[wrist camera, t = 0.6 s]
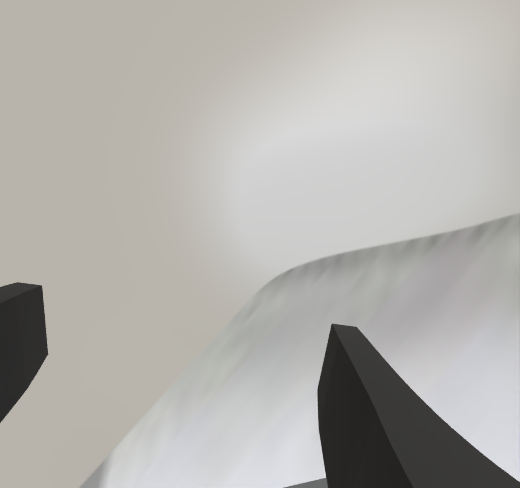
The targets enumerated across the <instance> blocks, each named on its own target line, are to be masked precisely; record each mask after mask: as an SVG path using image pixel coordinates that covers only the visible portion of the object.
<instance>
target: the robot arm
mask: <svg viewBox="0 0 520 488" xmlns="http://www.w3.org/2000/svg"><path fill="white" fill-rule="evenodd" d="M47 355H48V348H47V337H46V326H45V314H44V303H43V291H42V286H41V285H34V284H26V283H18V282H17V283H13V284H9V285H6V286H3V287H0V422H1V421H2V420H3V419H4V418H5V416H6V415H7V414H8V413H9V411H10V410H11V409H12V407H13V406H14V405H15V404H16V403H17V401H18V400H19V399H20V397H21V396H22V395H23V394H24V392H25V391H26V390H27V388H28V387H29V385H30V383H31V382H32V380H33V378H34V377H35V375H36V374H37V372H38V370H39V369H40V367H41V365H42V364H43V362H44V360H45V358H46V357H47ZM318 421H319V433H320V440H321V446H322V453H323V459H324V466H325V472H326V478H327V485H328V488H520V482H519V481H517V480H516V479H515V478H513V477H512V476H511V475H509V474H508V473H506V472H505V471H504V470H502V469H501V468H500V467H498V466H497V465H496V464H495V463H493V462H492V461H491V460H489V459H488V458H487V457H486V456H484V455H483V454H482V453H481V452H479V451H478V450H477V449H476V448H475V447H473V446H472V445H471V444H470V443H469V442H468V441H466V440H465V439H464V438H463V437H462V436H461V435H459V434H458V433H457V432H456V431H455V430H454V429H452V428H451V427H450V426H449V425H448V424H447V423H446V422H445V421H444V420H442V419H441V418H440V417H439V416H438V415H437V414H436V413H435V412H434V411H433V410H432V409H431V408H430V407H429V406H428V405H427V404H426V403H425V402H424V401H423V400H422V399H421V398H420V397H419V396H418V395H417V394H416V393H415V392H414V391H413V390H412V389H411V388H410V387H409V386H408V385H407V384H406V383H405V382H404V381H403V379H402V378H401V377H400V376H399V375H398V374H397V373H396V372H395V371H394V370H393V368H392V367H391V366H390V365H389V364H388V363H387V362H386V361H385V359H384V358H383V357H382V356H381V355H380V354H379V352H378V351H377V350H376V349H375V348H374V347H373V345H372V344H371V343H370V342H369V341H368V339H367V338H366V337H365V336H364V335H363V334H362V332H361V331H360V330H359V329H358V328H357V327H353V326H345V325H338V324H332V325H331V330H330V334H329V339H328V343H327V348H326V353H325V357H324V362H323V367H322V371H321V376H320V380H319V385H318Z"/></svg>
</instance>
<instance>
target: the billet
mask: <svg viewBox="0 0 520 488" xmlns="http://www.w3.org/2000/svg"><path fill="white" fill-rule="evenodd" d="M285 488H328V485H327V478H324V479H319V480H315V481H311V482H306V483H302V484H298V485H293V486H289V487H285Z"/></svg>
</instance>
